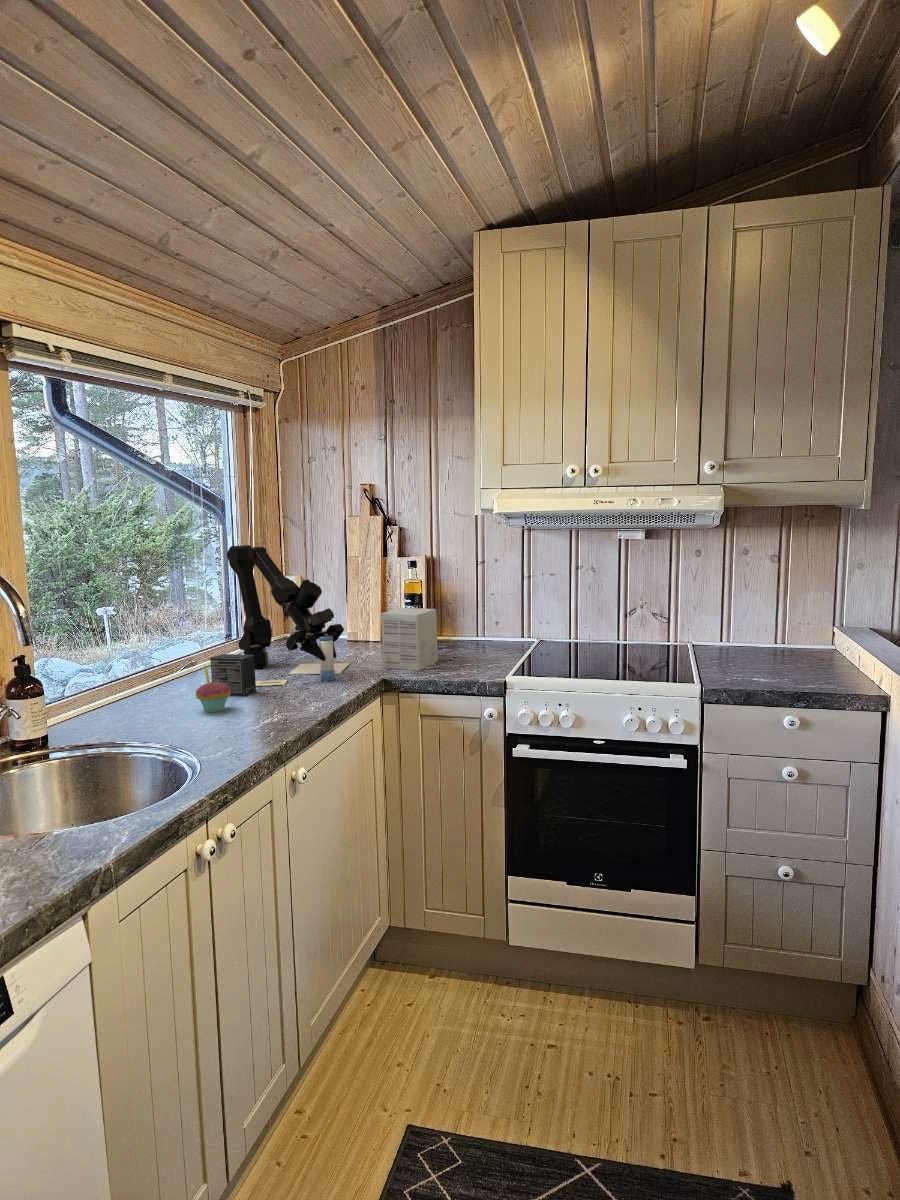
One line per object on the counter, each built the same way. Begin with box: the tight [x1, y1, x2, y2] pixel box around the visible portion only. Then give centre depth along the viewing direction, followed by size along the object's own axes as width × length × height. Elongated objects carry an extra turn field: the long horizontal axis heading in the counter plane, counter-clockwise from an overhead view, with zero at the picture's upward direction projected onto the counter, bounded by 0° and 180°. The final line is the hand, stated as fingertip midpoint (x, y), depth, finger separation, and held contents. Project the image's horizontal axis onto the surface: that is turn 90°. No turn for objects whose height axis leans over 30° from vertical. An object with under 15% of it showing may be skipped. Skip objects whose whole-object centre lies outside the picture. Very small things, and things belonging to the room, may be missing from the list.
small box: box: [209, 653, 257, 697], centre depth 216 cm, size 11×6×10 cm, turn 71°
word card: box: [255, 679, 288, 687], centre depth 226 cm, size 9×6×1 cm, turn 96°
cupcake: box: [195, 664, 232, 713], centre depth 198 cm, size 9×8×12 cm
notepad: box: [288, 661, 352, 675], centre depth 245 cm, size 16×16×1 cm
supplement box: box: [380, 607, 439, 672], centre depth 246 cm, size 13×13×18 cm
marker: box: [318, 636, 336, 682], centre depth 228 cm, size 4×4×13 cm
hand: (330, 658), depth 227 cm, fingers closed on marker, 4 cm apart
